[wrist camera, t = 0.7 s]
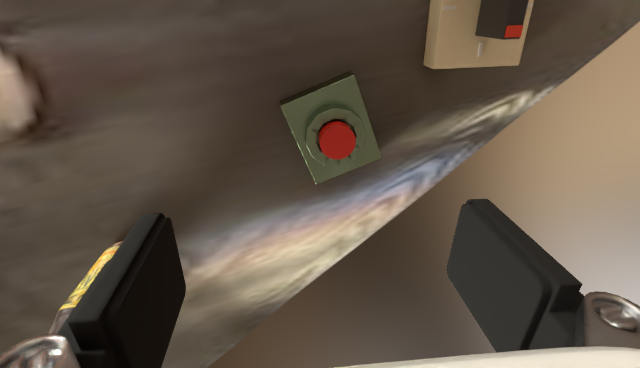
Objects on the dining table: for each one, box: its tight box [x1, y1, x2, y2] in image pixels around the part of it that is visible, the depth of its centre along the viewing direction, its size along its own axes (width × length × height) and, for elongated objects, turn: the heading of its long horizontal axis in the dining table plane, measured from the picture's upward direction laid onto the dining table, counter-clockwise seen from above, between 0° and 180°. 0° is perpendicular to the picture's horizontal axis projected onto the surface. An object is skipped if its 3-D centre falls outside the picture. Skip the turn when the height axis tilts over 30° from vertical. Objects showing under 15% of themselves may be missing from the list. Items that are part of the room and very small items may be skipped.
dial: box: [475, 0, 529, 40], centre depth 32 cm, size 6×2×5 cm, turn 2°
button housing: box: [280, 71, 382, 184], centre depth 40 cm, size 11×9×4 cm
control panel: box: [423, 0, 534, 69], centre depth 36 cm, size 12×10×3 cm
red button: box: [319, 121, 356, 159], centre depth 38 cm, size 4×4×2 cm
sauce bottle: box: [49, 241, 123, 334], centre depth 39 cm, size 6×6×20 cm
